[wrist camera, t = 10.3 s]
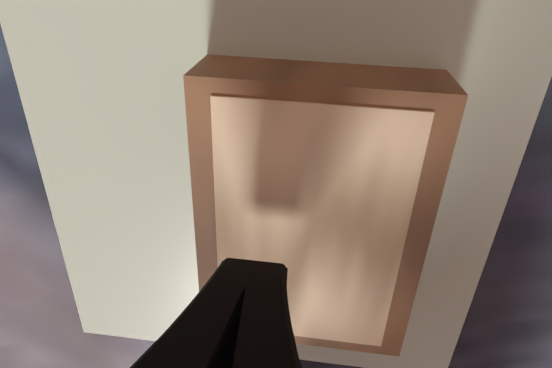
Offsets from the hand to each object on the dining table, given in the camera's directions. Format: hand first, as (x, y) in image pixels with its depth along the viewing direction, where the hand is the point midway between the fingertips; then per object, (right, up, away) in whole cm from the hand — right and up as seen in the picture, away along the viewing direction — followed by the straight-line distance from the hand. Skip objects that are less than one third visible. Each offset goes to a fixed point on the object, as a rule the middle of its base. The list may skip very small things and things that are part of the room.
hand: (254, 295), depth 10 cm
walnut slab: (-2, +2, +3) cm, 4 cm away
